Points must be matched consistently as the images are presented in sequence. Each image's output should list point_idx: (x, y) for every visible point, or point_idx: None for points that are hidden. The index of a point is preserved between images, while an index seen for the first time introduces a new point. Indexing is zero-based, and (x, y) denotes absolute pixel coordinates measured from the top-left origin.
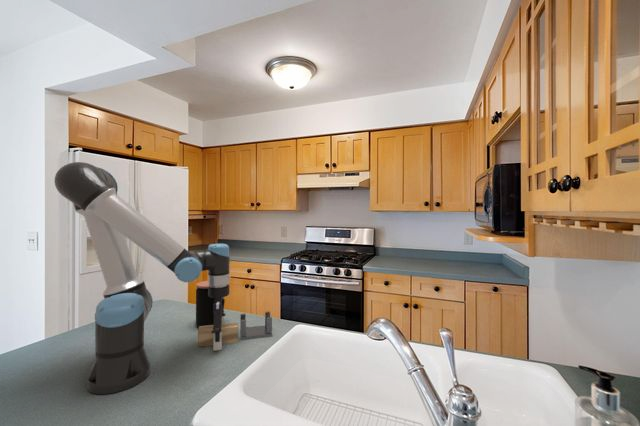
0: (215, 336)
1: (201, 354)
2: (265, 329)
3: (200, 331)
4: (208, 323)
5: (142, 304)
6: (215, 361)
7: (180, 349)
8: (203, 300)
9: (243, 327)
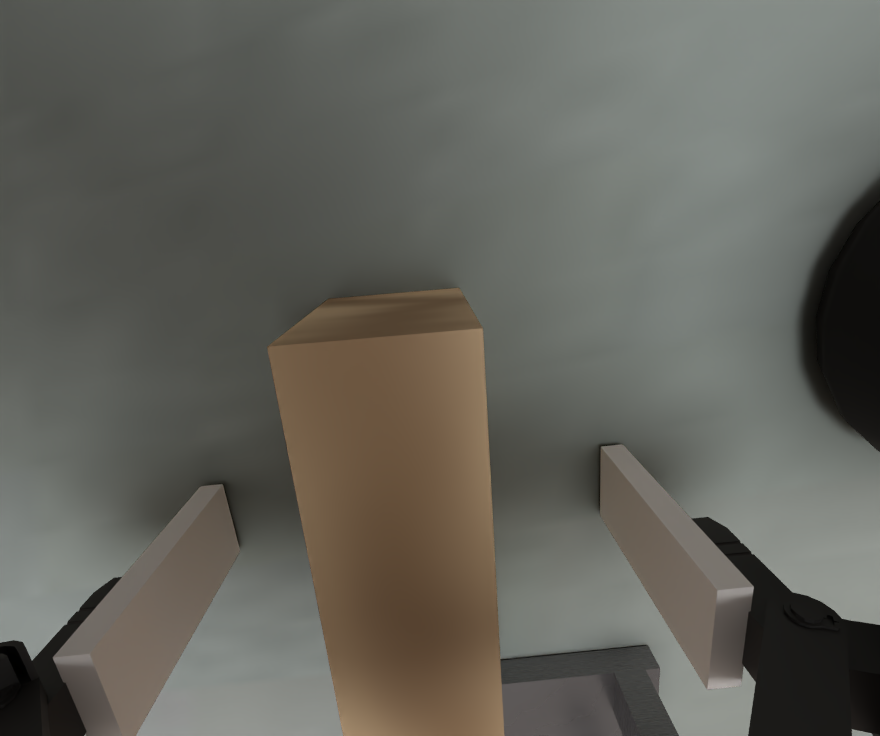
0: (46, 648)
1: (136, 382)
2: None
3: (281, 385)
4: (867, 341)
5: None
6: (5, 534)
7: (266, 95)
8: None
9: None
